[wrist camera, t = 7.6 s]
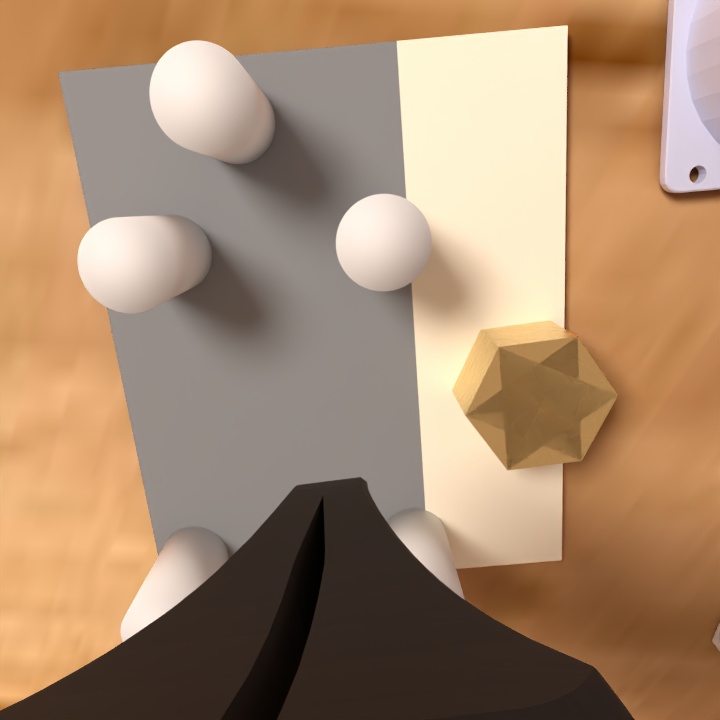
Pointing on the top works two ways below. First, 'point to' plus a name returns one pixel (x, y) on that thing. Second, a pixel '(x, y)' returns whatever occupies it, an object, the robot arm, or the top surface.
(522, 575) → the top surface
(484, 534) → the board
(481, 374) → the tan faceted polyhedron
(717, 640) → the light bulb box
